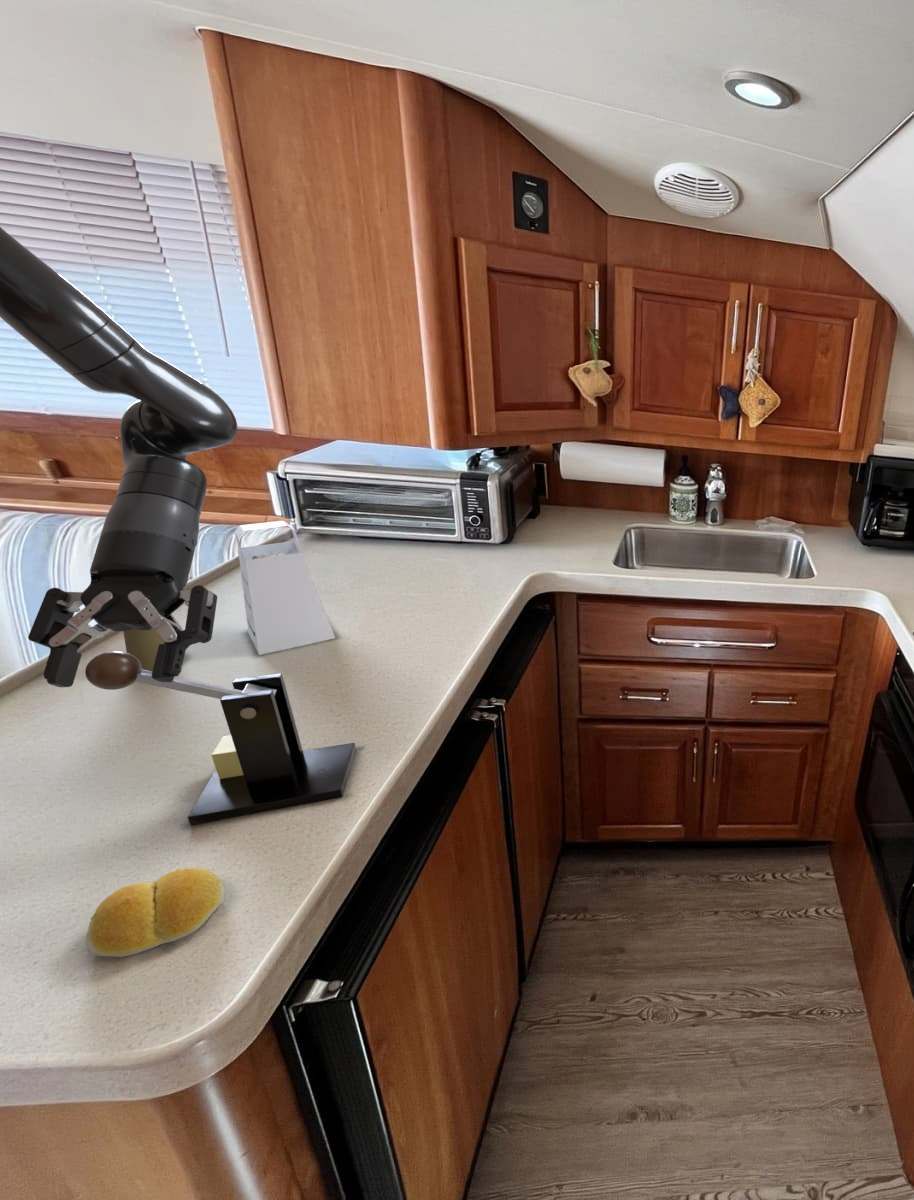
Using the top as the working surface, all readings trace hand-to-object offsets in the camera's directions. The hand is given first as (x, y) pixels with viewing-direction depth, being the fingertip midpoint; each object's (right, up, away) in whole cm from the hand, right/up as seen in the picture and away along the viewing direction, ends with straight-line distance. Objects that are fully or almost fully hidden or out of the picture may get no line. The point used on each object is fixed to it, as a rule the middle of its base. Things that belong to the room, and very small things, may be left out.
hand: (111, 683), depth 65 cm
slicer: (+8, -14, +11) cm, 20 cm away
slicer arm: (+3, -2, +4) cm, 6 cm away
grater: (-18, +2, +45) cm, 49 cm away
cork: (-30, -2, +34) cm, 45 cm away
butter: (+3, -12, +12) cm, 17 cm away
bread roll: (+11, -22, -6) cm, 25 cm away
